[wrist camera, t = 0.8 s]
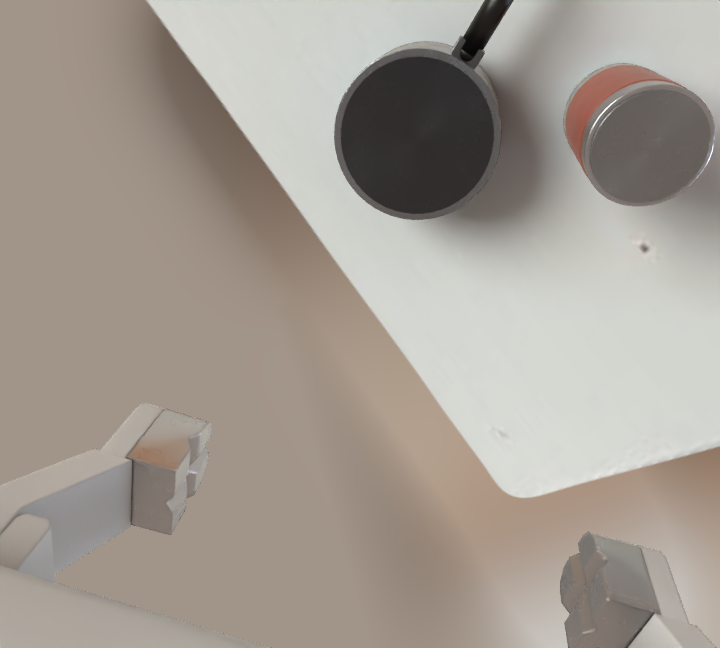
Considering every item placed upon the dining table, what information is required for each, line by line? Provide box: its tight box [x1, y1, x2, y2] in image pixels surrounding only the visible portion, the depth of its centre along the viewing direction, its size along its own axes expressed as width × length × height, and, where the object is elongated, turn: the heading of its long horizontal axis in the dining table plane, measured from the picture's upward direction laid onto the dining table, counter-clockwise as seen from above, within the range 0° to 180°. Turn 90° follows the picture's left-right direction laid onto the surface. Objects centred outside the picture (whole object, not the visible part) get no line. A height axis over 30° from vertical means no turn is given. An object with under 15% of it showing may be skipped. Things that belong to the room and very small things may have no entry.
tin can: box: [563, 63, 715, 206], centre depth 40 cm, size 7×7×11 cm
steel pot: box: [334, 0, 513, 220], centre depth 43 cm, size 20×12×6 cm, turn 151°
